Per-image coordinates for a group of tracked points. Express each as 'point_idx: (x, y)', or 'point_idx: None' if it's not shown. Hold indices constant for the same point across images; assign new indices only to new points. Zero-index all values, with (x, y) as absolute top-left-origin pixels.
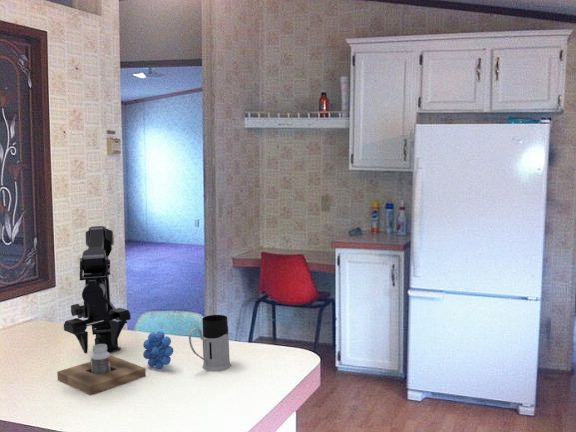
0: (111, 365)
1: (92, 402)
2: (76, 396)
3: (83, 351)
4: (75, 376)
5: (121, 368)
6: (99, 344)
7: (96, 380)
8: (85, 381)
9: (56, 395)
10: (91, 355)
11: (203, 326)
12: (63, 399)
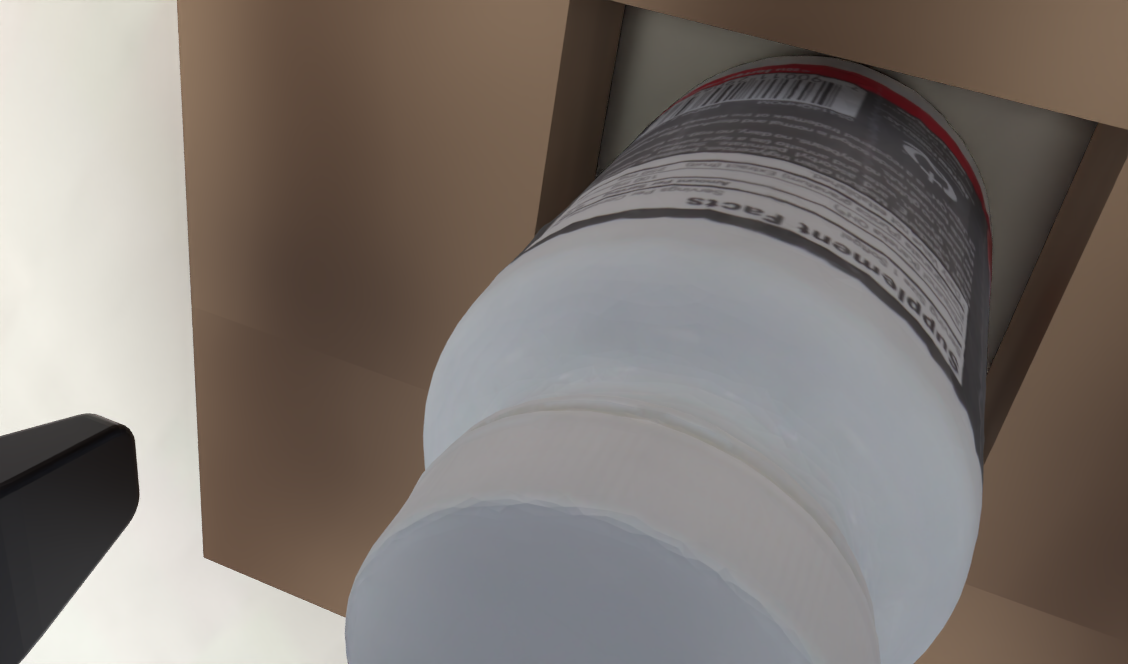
0: (1113, 338)
1: (199, 599)
2: (162, 348)
3: (48, 426)
4: (259, 74)
5: (1005, 626)
6: (697, 639)
7: (369, 523)
8: (252, 396)
9: (9, 79)
10: (447, 360)
11: None
12: (28, 264)
